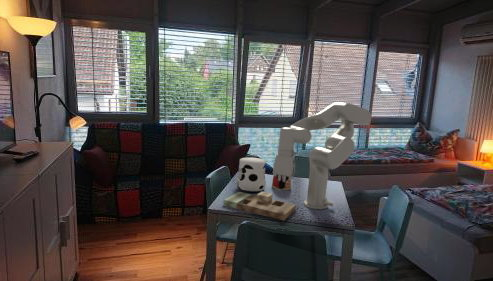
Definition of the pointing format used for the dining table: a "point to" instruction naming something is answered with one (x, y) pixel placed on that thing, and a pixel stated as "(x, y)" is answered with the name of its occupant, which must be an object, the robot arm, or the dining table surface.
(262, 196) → the block
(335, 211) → the dining table surface
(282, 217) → the wooden puzzle board
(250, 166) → the milk container
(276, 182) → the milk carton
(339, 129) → the robot arm
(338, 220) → the dining table surface
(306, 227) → the dining table surface
